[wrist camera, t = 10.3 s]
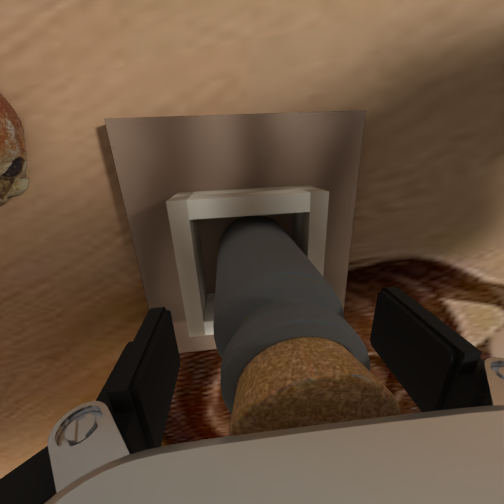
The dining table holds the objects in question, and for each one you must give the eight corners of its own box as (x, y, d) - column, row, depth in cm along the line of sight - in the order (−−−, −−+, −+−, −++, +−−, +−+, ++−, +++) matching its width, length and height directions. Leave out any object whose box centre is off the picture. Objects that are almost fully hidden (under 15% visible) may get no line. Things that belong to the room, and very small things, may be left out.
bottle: (210, 271, 21) (181, 506, 7) (229, 205, 19) (241, 337, 5) (274, 286, 22) (364, 512, 8) (297, 224, 20) (469, 377, 6)
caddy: (357, 113, 18) (404, 97, 14) (335, 327, 26) (361, 366, 21) (112, 121, 17) (67, 105, 12) (162, 346, 24) (147, 392, 19)
